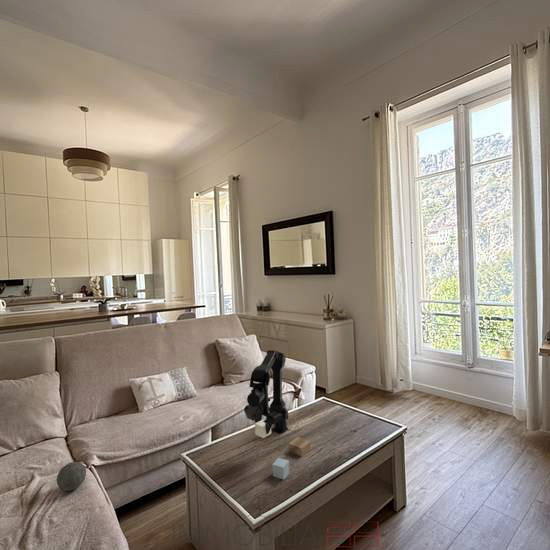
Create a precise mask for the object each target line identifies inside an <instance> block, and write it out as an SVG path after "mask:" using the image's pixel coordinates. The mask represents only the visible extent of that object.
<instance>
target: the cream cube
mask: <svg viewBox="0 0 550 550" xmlns="http://www.w3.org/2000/svg"><path fill="white" fill-rule="evenodd" d="M264 420H265V419H262V420H261V421H259V422H257V423H255V422H254V431H255V435H256V436H258V437H260V438H262V439H264V438H266V437H268V436H271V434H272V430H271V429H272V428H271V429H270V431H269V433H268V434H266V426H265V423H264V422H263V421H264Z"/></svg>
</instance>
